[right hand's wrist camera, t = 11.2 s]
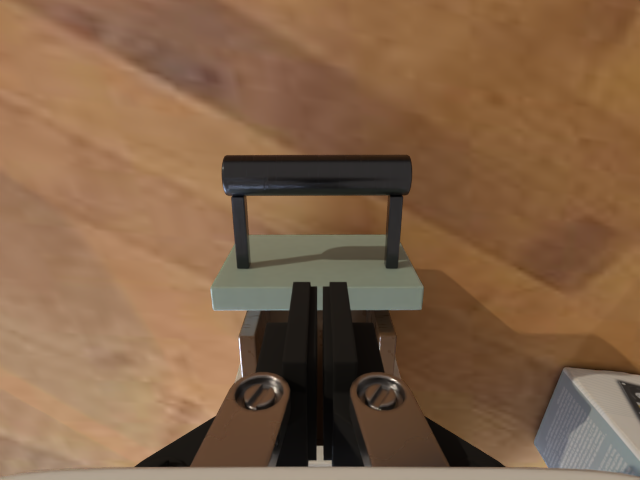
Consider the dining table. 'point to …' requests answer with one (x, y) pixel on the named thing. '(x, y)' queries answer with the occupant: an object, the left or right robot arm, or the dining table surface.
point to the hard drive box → (592, 422)
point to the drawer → (316, 251)
